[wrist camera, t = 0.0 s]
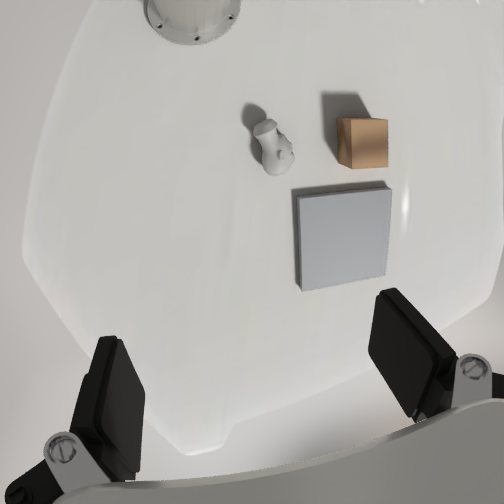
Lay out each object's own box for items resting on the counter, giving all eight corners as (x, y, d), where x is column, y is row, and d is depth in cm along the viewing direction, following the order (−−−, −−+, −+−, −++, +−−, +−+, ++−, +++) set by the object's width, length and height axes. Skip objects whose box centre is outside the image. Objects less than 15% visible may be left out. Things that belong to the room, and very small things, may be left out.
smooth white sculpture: (289, 166, 47) (260, 177, 46) (275, 115, 43) (244, 124, 42) (305, 169, 43) (275, 181, 42) (292, 113, 40) (259, 124, 38)
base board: (296, 196, 48) (299, 198, 46) (387, 186, 49) (392, 189, 48) (299, 287, 55) (302, 291, 53) (381, 271, 56) (385, 275, 55)
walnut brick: (336, 117, 44) (350, 119, 39) (370, 117, 44) (387, 119, 40) (338, 163, 47) (352, 169, 42) (371, 160, 47) (388, 167, 43)
